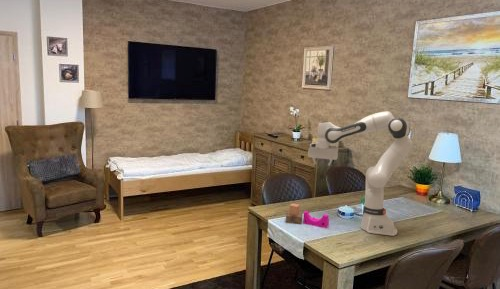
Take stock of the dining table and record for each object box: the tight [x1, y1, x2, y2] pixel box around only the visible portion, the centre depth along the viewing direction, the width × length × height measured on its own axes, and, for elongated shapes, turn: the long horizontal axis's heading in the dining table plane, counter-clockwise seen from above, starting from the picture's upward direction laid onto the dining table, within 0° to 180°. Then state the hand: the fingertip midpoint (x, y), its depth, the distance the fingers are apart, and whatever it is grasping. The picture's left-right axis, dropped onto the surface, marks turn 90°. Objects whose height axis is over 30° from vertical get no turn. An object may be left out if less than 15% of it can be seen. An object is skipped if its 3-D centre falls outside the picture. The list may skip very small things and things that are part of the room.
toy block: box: [302, 210, 330, 229], centre depth 242 cm, size 15×6×8 cm, turn 63°
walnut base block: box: [285, 210, 303, 225], centre depth 247 cm, size 10×10×5 cm
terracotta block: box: [288, 203, 301, 216], centre depth 246 cm, size 5×5×6 cm
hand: (322, 165), depth 260 cm, fingers open, 8 cm apart
